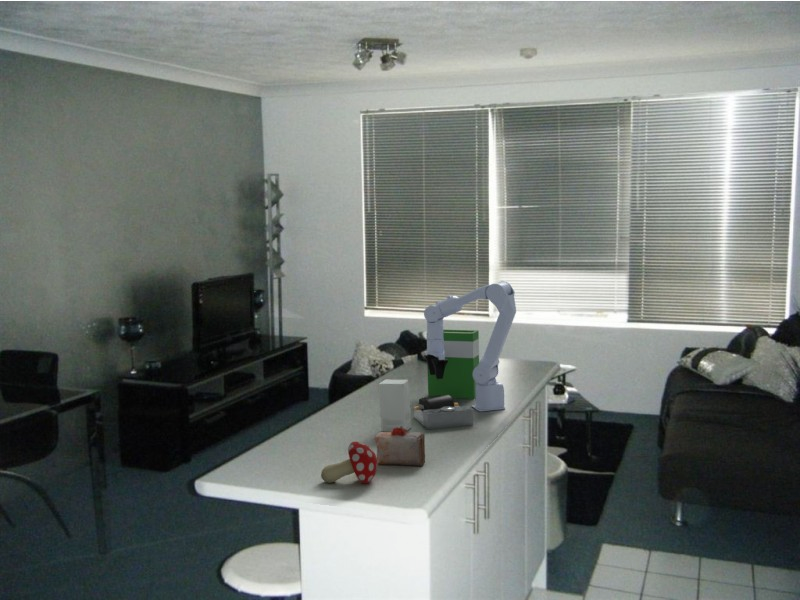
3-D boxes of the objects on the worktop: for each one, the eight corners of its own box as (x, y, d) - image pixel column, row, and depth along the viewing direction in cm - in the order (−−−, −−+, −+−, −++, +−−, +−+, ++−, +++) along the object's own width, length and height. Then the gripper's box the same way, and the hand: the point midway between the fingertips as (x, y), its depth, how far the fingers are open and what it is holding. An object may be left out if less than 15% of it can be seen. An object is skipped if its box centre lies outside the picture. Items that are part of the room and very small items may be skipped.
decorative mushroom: (309, 451, 203) (363, 430, 201) (324, 462, 212) (376, 442, 211) (319, 493, 197) (375, 471, 196) (334, 502, 207) (387, 481, 206)
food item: (372, 466, 217) (371, 430, 216) (379, 457, 225) (378, 422, 224) (422, 468, 214) (421, 432, 213) (427, 459, 222) (426, 424, 221)
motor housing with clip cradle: (456, 413, 270) (456, 396, 270) (473, 424, 255) (472, 407, 254) (414, 417, 267) (413, 400, 266) (428, 429, 251) (427, 412, 251)
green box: (428, 396, 297) (426, 332, 294) (434, 391, 304) (433, 329, 301) (474, 398, 290) (472, 333, 288) (479, 394, 297) (478, 330, 294)
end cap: (430, 421, 261) (430, 401, 261) (418, 417, 267) (417, 397, 266) (454, 416, 267) (454, 396, 266) (441, 412, 273) (441, 392, 272)
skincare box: (411, 427, 254) (410, 379, 252) (405, 433, 248) (403, 383, 246) (387, 426, 257) (385, 378, 255) (379, 431, 251) (378, 382, 249)
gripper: (418, 336, 287) (419, 373, 289) (430, 342, 273) (431, 381, 275) (437, 335, 289) (438, 372, 290) (450, 341, 275) (451, 379, 277)
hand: (436, 376), depth 283 cm, fingers open, 7 cm apart
